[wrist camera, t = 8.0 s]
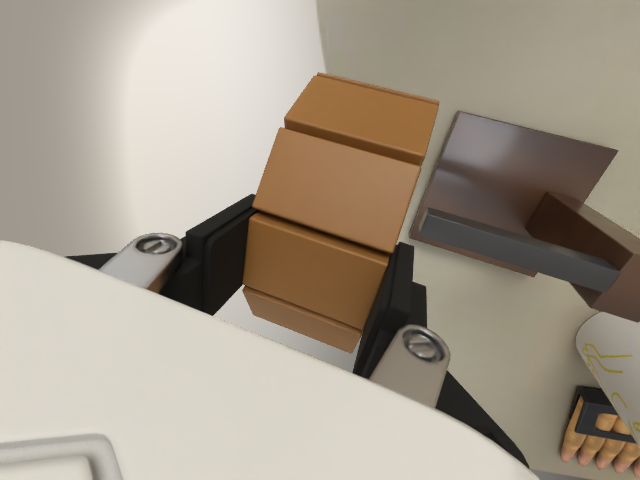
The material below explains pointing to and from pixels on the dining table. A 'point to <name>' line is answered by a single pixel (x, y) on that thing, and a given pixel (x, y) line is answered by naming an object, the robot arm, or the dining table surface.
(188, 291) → the robot arm
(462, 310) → the dining table surface
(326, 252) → the segmented brown cylinder
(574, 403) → the ammunition clip
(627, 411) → the cup
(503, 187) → the hook stand
